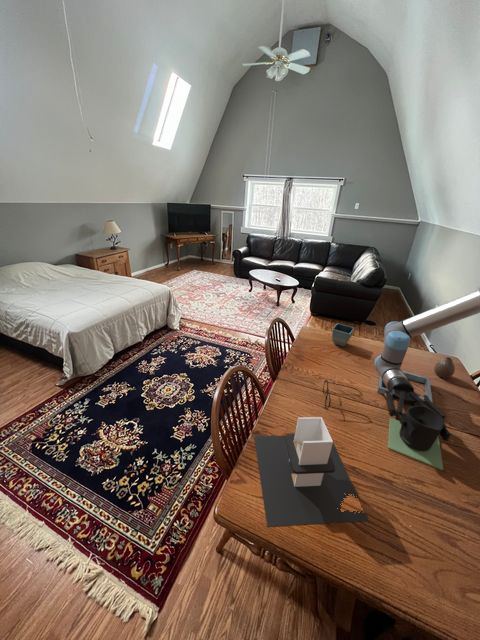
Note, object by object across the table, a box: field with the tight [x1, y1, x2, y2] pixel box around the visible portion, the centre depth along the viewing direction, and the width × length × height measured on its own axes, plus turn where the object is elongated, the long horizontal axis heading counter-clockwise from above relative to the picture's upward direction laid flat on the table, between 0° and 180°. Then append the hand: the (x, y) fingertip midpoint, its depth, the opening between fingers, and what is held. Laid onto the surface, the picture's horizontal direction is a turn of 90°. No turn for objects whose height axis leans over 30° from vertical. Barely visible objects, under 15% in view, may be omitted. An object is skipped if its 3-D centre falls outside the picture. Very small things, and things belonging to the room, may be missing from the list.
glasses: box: [322, 379, 371, 421], centre depth 98 cm, size 14×15×5 cm
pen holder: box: [399, 405, 445, 451], centre depth 82 cm, size 9×9×10 cm
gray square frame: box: [376, 370, 434, 404], centre depth 108 cm, size 18×18×2 cm
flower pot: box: [331, 323, 355, 347], centre depth 137 cm, size 9×9×9 cm
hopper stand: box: [253, 416, 370, 528], centre depth 70 cm, size 25×24×16 cm
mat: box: [387, 417, 444, 471], centre depth 84 cm, size 14×14×1 cm
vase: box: [433, 356, 456, 379], centre depth 115 cm, size 7×7×9 cm
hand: (430, 435), depth 76 cm, fingers closed on pen holder, 9 cm apart
